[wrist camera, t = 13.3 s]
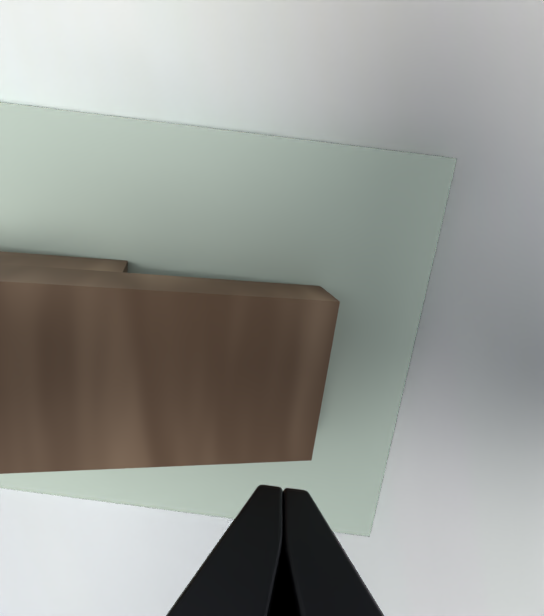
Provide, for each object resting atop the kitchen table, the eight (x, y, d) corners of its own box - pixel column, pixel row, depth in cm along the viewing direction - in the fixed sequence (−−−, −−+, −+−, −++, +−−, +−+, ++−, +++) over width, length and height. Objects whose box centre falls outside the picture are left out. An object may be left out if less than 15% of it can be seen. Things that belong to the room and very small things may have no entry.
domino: (339, 301, 11) (-109, 274, 9) (311, 460, 13) (-82, 477, 10) (320, 285, 13) (-69, 259, 10) (296, 430, 14) (-50, 437, 12)
